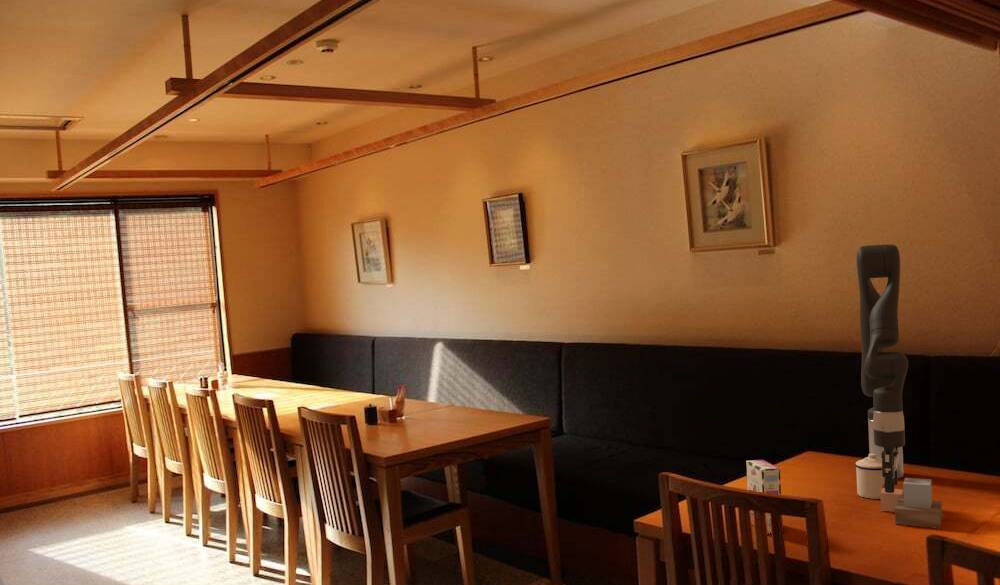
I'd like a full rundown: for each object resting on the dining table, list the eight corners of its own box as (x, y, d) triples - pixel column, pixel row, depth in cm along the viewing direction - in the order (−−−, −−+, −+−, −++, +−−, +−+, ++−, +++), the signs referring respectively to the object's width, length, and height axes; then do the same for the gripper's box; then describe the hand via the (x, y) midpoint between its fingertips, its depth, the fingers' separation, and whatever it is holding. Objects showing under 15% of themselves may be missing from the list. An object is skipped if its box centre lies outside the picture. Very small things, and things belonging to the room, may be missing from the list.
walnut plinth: (899, 513, 226) (898, 498, 226) (942, 517, 221) (941, 501, 221) (895, 524, 217) (894, 508, 217) (940, 528, 212) (939, 512, 212)
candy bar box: (784, 533, 215) (781, 468, 214) (764, 535, 215) (761, 469, 214) (766, 520, 226) (763, 458, 226) (747, 522, 226) (744, 459, 225)
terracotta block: (882, 506, 233) (882, 488, 233) (903, 508, 230) (902, 489, 230) (881, 511, 228) (880, 492, 228) (901, 513, 226) (901, 494, 226)
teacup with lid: (890, 500, 237) (888, 458, 237) (855, 498, 241) (853, 457, 241) (893, 489, 248) (891, 449, 247) (858, 487, 252) (857, 447, 252)
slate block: (906, 500, 223) (905, 477, 223) (932, 502, 220) (931, 479, 220) (904, 507, 218) (903, 483, 218) (930, 509, 215) (929, 485, 215)
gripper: (876, 422, 237) (879, 481, 237) (870, 431, 224) (872, 494, 225) (906, 423, 233) (909, 483, 233) (901, 433, 220) (904, 496, 221)
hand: (891, 488), depth 229 cm, fingers open, 8 cm apart
